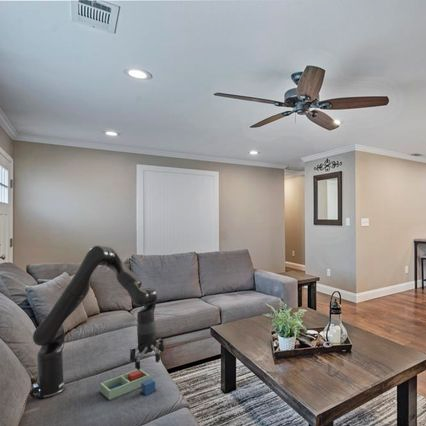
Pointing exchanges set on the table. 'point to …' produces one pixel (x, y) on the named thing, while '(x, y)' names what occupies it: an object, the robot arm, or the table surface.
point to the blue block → (148, 386)
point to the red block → (134, 376)
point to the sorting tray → (122, 385)
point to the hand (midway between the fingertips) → (148, 365)
